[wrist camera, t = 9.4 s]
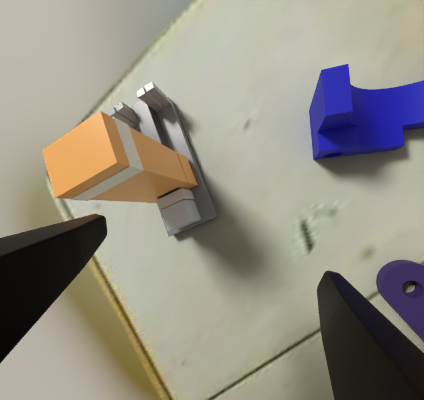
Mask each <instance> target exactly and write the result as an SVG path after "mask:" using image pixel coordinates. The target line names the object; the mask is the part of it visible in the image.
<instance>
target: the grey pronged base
mask: <svg viewBox="0 0 424 400" xmlns="http://www.w3.org/2000/svg"><path fill="white" fill-rule="evenodd" d="M145 88H146V90H145V89H144V88H141V89H140V90H138V91H137V92H136V93H137V96H138V98H140V99H141V101H140V102H138V103H137V104H135V105H134V106H132V107H133V109H134V110H133V109H131V108H130V107H128V106H127V105H125V104H124V103H122V102H121V103H119V104H118V105H116V106H115V107H116V108H114V107H113V108H112V109H110V110H109V111H107V112H108V115H109V116H111V117H115V118H117V119H119V120H120V121H122V122H124V123H126V124H128V126H129V127H131V128H133V129H134V130H136V131H138V132H140V133H142V134H144V135H145V136H147V137H149V138H151V139H153V140H155V141H157V142H158V143H160V144H162V145H164V146H166V147H168V148H169V149H171V150H173V151H175V152H178V153H179V154H181V155H183V156H185V157H187V159H188V161H189V164H190V167H191V169H192V172H193V174H194V177H195V180H196V182H197V185H196V186H194V187H192V188H190V189H183V188H176V189H173V190H171V191H169V192H167V193H165V194H164V197H162V198H160V199H158V200H157V204H158V207H159V210H160V213H161V216H162V219H163V221H164V224H165V227H166V230H167V233H168V236H172V235H175V234H177V233H180V232H182V231H185V230H187V229H189V228H192V227H194V226H197V225H199V224H201V223H204V222H206V221H209V220H211V219H213V218H216V217H218V215H217V213H216V210H215V208H214V205H213V202H212V200H211V197H210V195H209V192H208V190H207V187H206V185H205V182H204V180H203V177H202V174H201V172H200V169H199V167H198V164H197V162H196V159H195V157H194V154H193V151H192V149H191V146H190V144H189V141H188V139H187V136H186V134H185V131H184V129H183V126H182V123H181V121H180V118H179V116H178V113H177V111H176V108H175V106H174V103H173V101H172V100H171V99H170V98H169V97H167V96H166V95H165V94H164V93H163V92H162V91H161V90H160V89H159V88H158V87H157V86H156V85H155V84H154V83H153V82H150V83H149V84H147V85H146V86H145Z"/></svg>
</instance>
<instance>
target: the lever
mask: <svg viewBox="0 0 424 400" xmlns="http://www.w3.org/2000/svg"><path fill="white" fill-rule="evenodd" d="M407 281H414V282H415V289H414V290H413V291H412V292H410V293H404V292H403V290H402V286H403V284H404V283H405V282H407ZM376 284H377V288H378V291H379V293H380V294H381V296H382V297H383V298H384V299H385V300H386V301H387V303H388V304H389V305H390V306H391V307H392V308H393V309H394V310H395V311H396V312H397V313H398V314H399V316H400V317H401V318H402V319H403V320H404V321H405V322H406V323H407V324H408V325H409V326H410V327H411V329H412V330H413V331H414V332H415V333H416V334H417V335H418V336H419V337H420V338H421V339H422V341H423V342H424V266H423V265H421V264H418V263H416V262H413V261H408V260H396V261H392V262H390V263H388V264H386V265H384V266H383V267H382V268H381V269H380V271H379V273H378V275H377V279H376Z"/></svg>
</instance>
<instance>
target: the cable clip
mask: <svg viewBox="0 0 424 400" xmlns="http://www.w3.org/2000/svg"><path fill="white" fill-rule="evenodd" d="M309 114H310V125H311V137H312V148H313V160H314V159H323V158H331V157H340V156H348V155H357V154H365V153H373V152H382V151H390V150H396V149H398V148H400V147H402V146H404V136H403V130H409V129H416V128H423V127H424V80H423V81H420V82H416V83H412V84H408V85H404V86H399V87H394V88H388V89H376V90H368V89H360V88H357V87H354V86H352V85H351V84H350V77H349V67H348V64H346V65H341V66H337V67H333V68H328V69H324V70H321V73H320V76H319V80H318V83H317V86H316V90H315V93H314V96H313V100H312V103H311V106H310V110H309Z"/></svg>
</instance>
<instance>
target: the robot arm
mask: <svg viewBox="0 0 424 400" xmlns="http://www.w3.org/2000/svg"><path fill="white" fill-rule="evenodd" d="M106 236H107V225H106V218H105V217H104V216H102V215H98V214H93V215H89V216H85V217H81V218H77V219H73V220H69V221H65V222H61V223H57V224H53V225H50V226H46V227H42V228H38V229H34V230H30V231H27V232H22V233H19V234H14V235H11V236H7V237H3V238H0V363H1V362H2V361H3V360H4V358H5V357H6V356H7V355H8V354H9V353H10V351H11V350H12V349H13V348H14V347H15V346H16V345H17V343H18V342H19V341H20V340H21V339H22V338H23V337H24V335H25V334H26V333H27V332H28V331H29V330H30V329H31V328H32V326H33V325H34V324H35V323H36V322H37V321H38V320H39V318H40V317H41V316H42V315H43V314H44V312H46V310H47V309H48V308H49V307H50V306H51V305H52V304H53V302H54V301H55V300H56V299H57V298H58V297H59V296H60V294H61V293H62V292H63V291H64V290H65V289H66V288H67V286H68V285H69V284H70V283H71V282H72V280H74V278H75V277H76V276H77V275H78V274H79V273H80V271H81V270H82V269H83V268H84V267H85V265H86V264H87V263H88V261H89V260H90V259H91V257H92V256H93V254H94V253H95V252H96V250H97V249H98V247H99V246H100V245H101V243H102V242H103V241H104V239H105V238H106ZM317 297H318V307H319V318H320V328H321V335H322V341H323V346H324V351H325V356H326V360H327V365H328V370H329V375H330V380H331V385H332V390H333V394H334V399H335V400H424V353H423V352H422V351H421V350H420V349H419V348H418V347H417V346H416V345H415V344H413V343H412V342H411V341H410V340H409V339H408V338H407V337H406V336H405V335H404V334H403V333H402V332H401V331H400V330H399V329H398V328H397V327H395V326H394V325H393V324H392V323H391V322H390V321H389V320H388V319H387V318H386V317H385V316H384V315H383V314H382V313H381V312H380V311H379V310H377V309H376V308H375V307H374V306H373V305H372V304H371V303H370V302H369V301H368V300H367V299H366V298H365V297H364V296H363V295H362V294H361V293H359V292H358V291H357V290H356V289H355V288H354V287H353V286H352V285H351V284H350V283H349V282H348V281H347V280H346V279H345V278H344V277H343V276H341V275H340V274H339V273H337V272H333V271H326V272H325V273H324V275H323V277H322V279H321V281H320V283H319V285H318V288H317Z"/></svg>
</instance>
